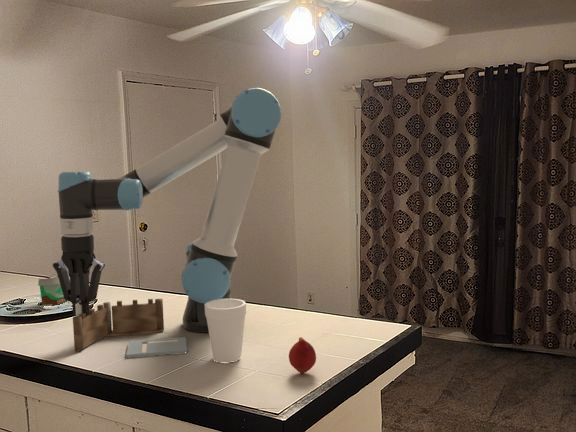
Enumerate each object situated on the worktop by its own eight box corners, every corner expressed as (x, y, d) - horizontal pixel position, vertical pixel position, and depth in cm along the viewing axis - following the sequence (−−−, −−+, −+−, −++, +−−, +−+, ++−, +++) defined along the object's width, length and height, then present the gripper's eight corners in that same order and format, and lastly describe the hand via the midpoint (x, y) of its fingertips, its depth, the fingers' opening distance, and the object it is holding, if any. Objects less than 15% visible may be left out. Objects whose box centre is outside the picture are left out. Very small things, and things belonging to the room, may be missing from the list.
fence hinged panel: (102, 333, 154) (100, 303, 153) (109, 334, 154) (107, 303, 153) (72, 350, 142) (70, 317, 141) (80, 350, 141) (78, 317, 140)
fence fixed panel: (164, 327, 160) (162, 296, 159) (163, 332, 156) (162, 300, 155) (105, 332, 157) (104, 300, 156) (104, 336, 153) (102, 304, 152)
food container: (58, 311, 178) (55, 279, 177) (39, 311, 180) (37, 279, 179) (80, 301, 190) (78, 271, 189) (62, 300, 192) (61, 270, 191)
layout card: (185, 340, 149) (185, 336, 149) (186, 353, 140) (186, 349, 140) (129, 344, 147) (129, 340, 147) (126, 358, 137) (126, 354, 137)
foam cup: (227, 348, 142) (225, 296, 141) (255, 356, 136) (254, 302, 135) (198, 360, 135) (195, 305, 133) (226, 369, 129) (224, 311, 127)
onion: (315, 368, 129) (314, 332, 128) (317, 378, 123) (316, 341, 122) (288, 368, 128) (288, 333, 128) (289, 379, 123) (289, 341, 122)
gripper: (44, 236, 141) (49, 331, 143) (93, 237, 138) (98, 334, 141) (61, 232, 148) (66, 323, 151) (109, 233, 146) (113, 325, 148)
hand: (81, 328), depth 146 cm, fingers closed
